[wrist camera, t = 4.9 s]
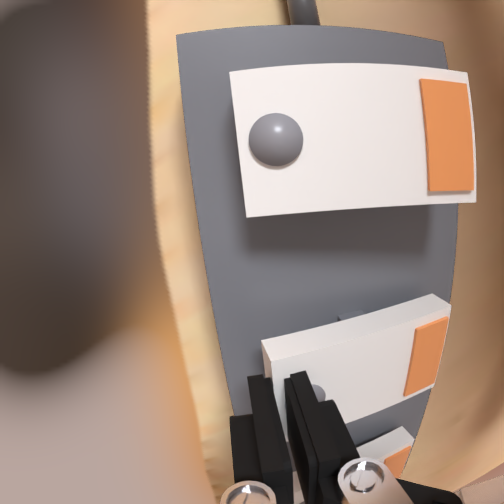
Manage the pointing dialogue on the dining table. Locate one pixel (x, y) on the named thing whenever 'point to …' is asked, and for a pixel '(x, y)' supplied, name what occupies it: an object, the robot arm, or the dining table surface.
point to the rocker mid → (364, 357)
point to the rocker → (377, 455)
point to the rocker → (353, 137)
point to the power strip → (302, 224)
